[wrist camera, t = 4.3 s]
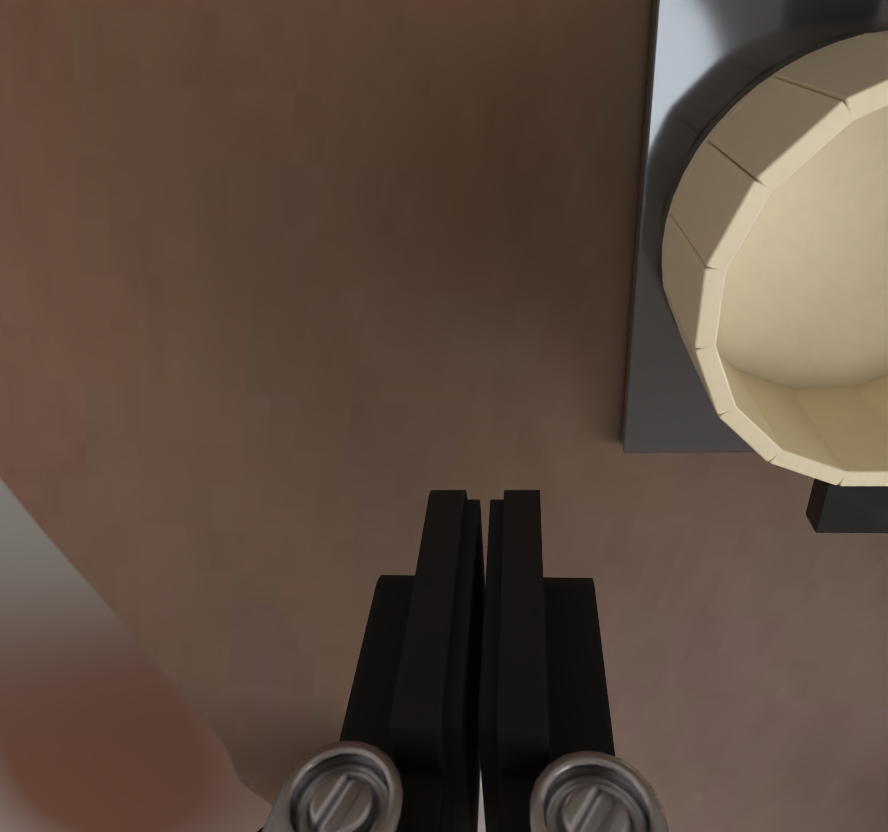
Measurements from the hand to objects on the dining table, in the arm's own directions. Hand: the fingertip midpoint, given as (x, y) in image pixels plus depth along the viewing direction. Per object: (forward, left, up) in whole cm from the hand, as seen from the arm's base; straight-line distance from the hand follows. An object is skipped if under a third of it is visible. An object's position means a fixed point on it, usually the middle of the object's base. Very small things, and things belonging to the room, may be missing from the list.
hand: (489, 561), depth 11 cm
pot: (+12, 0, -17) cm, 20 cm away
